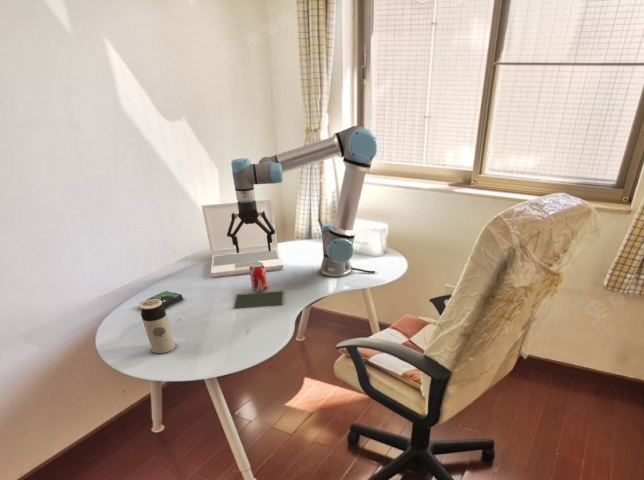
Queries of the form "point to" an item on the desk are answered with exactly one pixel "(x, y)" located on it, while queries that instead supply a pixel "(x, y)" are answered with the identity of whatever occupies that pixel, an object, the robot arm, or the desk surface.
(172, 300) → the disk drive
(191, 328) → the desk surface
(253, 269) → the soda can
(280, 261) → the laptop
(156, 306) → the travel mug
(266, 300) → the mat
